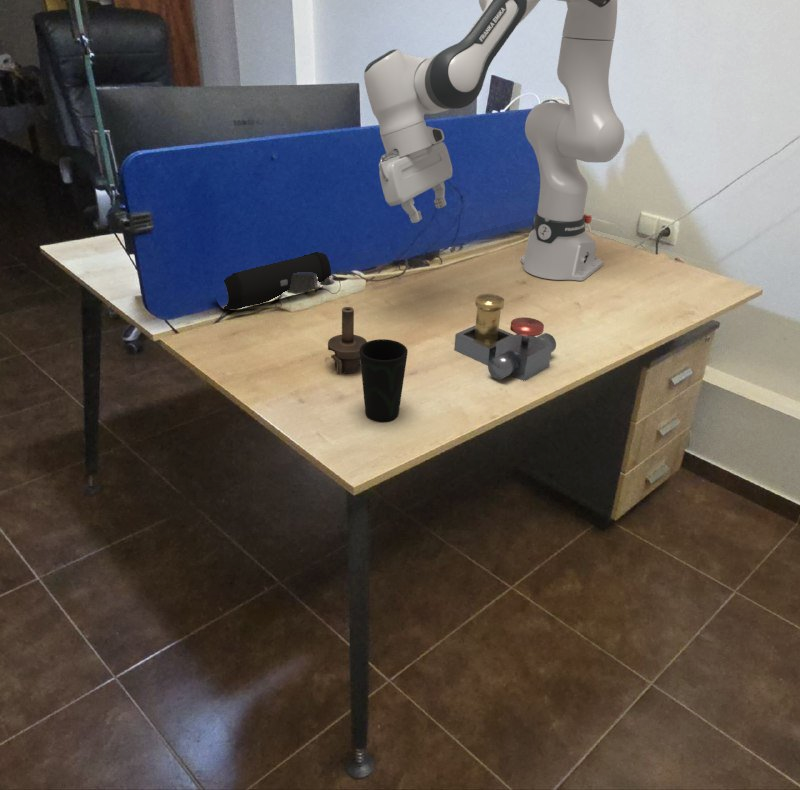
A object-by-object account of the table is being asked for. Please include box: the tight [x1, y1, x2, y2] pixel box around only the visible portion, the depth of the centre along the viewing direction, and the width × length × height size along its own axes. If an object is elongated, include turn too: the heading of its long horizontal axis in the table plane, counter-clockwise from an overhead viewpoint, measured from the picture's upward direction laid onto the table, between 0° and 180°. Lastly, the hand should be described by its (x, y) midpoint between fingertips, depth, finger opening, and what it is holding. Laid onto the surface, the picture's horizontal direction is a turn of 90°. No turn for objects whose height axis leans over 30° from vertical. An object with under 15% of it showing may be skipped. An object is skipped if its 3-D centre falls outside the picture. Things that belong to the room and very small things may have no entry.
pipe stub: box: [474, 293, 505, 345], centre depth 136 cm, size 5×5×11 cm
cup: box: [360, 338, 409, 423], centre depth 115 cm, size 8×8×12 cm
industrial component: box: [327, 306, 368, 375], centre depth 128 cm, size 9×7×12 cm
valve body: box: [453, 316, 557, 382], centre depth 134 cm, size 16×17×9 cm
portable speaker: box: [223, 252, 332, 310], centre depth 155 cm, size 26×10×10 cm, turn 129°
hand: (429, 214), depth 139 cm, fingers open, 8 cm apart
